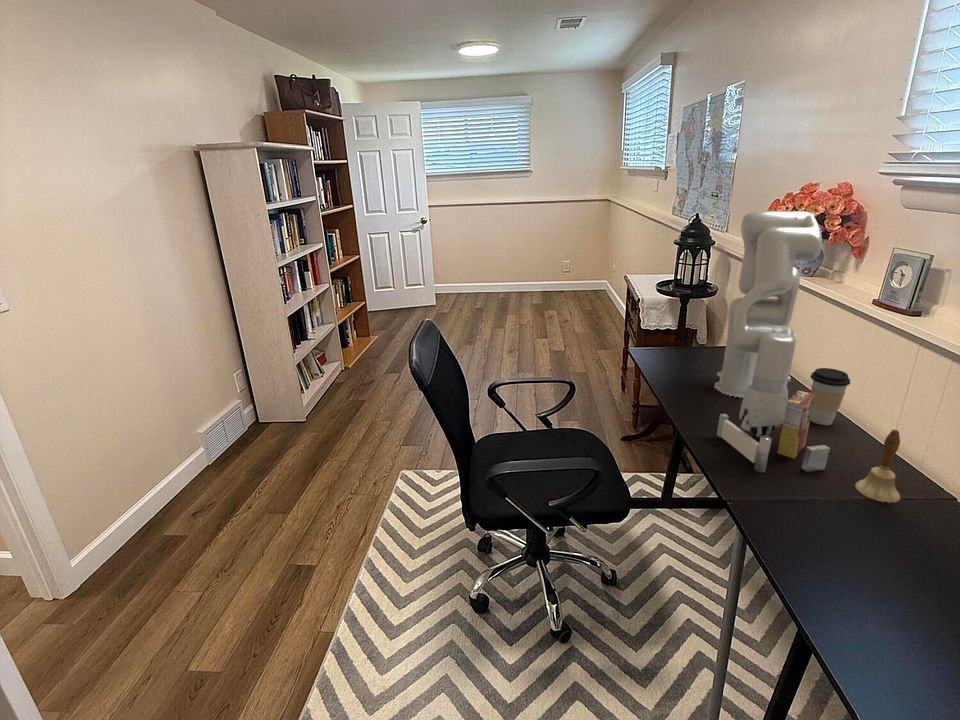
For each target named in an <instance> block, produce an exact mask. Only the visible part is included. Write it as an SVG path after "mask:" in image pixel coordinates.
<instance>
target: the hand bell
mask: <svg viewBox="0 0 960 720" xmlns="http://www.w3.org/2000/svg"><path fill="white" fill-rule="evenodd" d="M900 444H901V437H900V431H899V430H897V429H891V431H890V432H889V433H888V435H887V436H886V438H885V439H884V442H883V457H882V460H881V462H880V466H875V467H872V468H871V469H870V471H869V473H868V474H867V476H866V477H865V478H864V479H860V480H858V481H857V482H856V483H855V485H854V488H855V489H856V491H858V493H860V494H861V495H862V496H864V497H866V498H868V499H870V500H873V499H874V500H873V501H876V500H877V501H876V502H879V501H881V502H880V503H884V502H888V503H889V504H895V503H898V502H899V501H900V500H901V496H900V492H898V490H897V489H896V474H895V473H894V472H893V471H892V470H890V469H891V466H892V465H891V464H892V460H893V457H894V456H895V454H896V453H897V451H898V449H899V447H900ZM890 502H891V503H890ZM893 502H894V503H893ZM888 503H887V504H888Z"/></svg>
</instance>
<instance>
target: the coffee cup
mask: <svg viewBox="0 0 960 720" xmlns="http://www.w3.org/2000/svg"><path fill="white" fill-rule="evenodd" d="M810 378H811V380H812V384H811V389H810V393H811V394H814V395H815V396H814V401H813V406H812V412H811V417H810V422H812V423H814V424H817V425H820V426H821V425H822V426H830V425H832V424H833V423H834V421H835V420H834V419H835V418H836V415H837V412H838V410H839V409H840V406H841V404H842V401H843V398H844V396H845V394H846V389H847V386H849V385H850V384H851V379H850V378H849V374H848V373H846V372H845V371H842V370H839V369H834V368H828V367H820V368H819V367H818V368H816V369H815V370H814V371H813V372H812V373H810Z"/></svg>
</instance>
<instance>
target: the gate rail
mask: <svg viewBox="0 0 960 720" xmlns="http://www.w3.org/2000/svg"><path fill="white" fill-rule="evenodd" d="M729 419H730V415H728V414H727V413H720V414H719V419H718V423H717V424H718V425H717V430H716V431H717V432H716V436H718V438H720V439H721V438H722V439H723V440H725V441H726V442H727V443H728V444H730V446H732V447H733V448H735V450H737V452H739V453H740V454H741V455H742V456H743V457H745V458H746V459H748V461H750V462H751V463H753V464H755V462H756V457H757V452H758V447H759V443H758V442H757V441H756V440H754V439H753V438H752V436H750V435H749V434H748V433H746V432H745V430H743V429H742V428H741V427H738V426H737V425H736V424H734V423H733V422H732V421H730V420H729Z"/></svg>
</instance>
